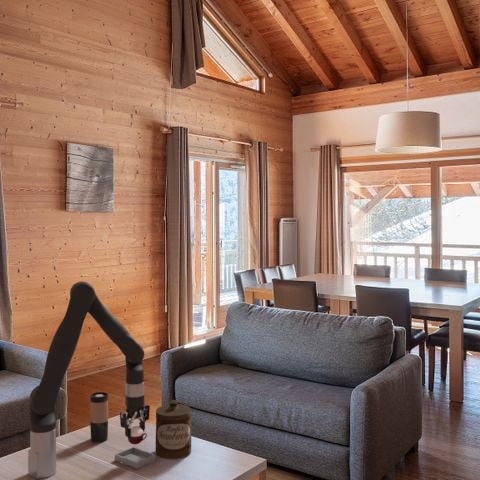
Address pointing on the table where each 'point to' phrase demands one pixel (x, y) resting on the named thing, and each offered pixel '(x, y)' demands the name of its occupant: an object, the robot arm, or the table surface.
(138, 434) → the cocoa
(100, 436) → the travel mug
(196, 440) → the table surface
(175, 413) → the labeled brown tin
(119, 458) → the tray
